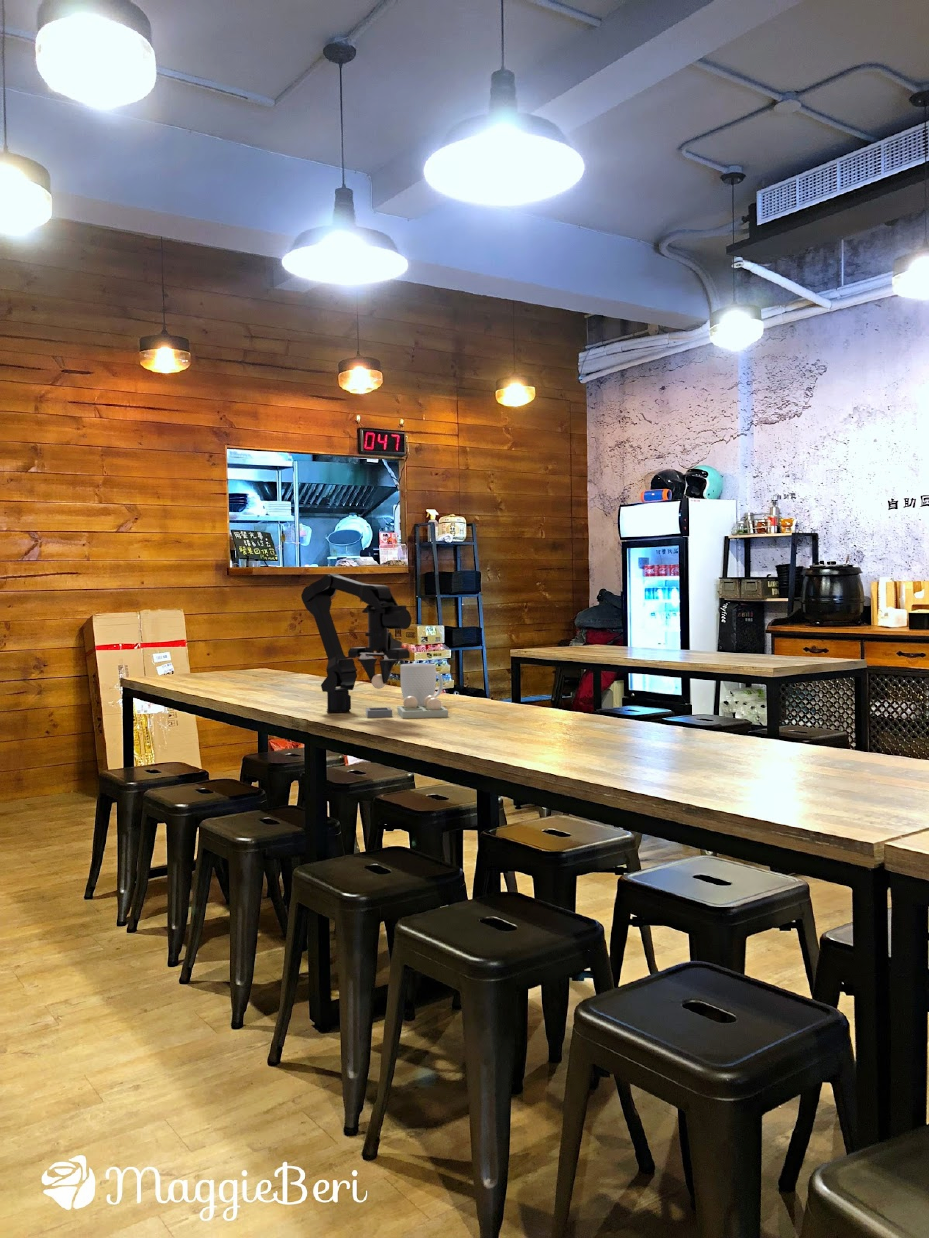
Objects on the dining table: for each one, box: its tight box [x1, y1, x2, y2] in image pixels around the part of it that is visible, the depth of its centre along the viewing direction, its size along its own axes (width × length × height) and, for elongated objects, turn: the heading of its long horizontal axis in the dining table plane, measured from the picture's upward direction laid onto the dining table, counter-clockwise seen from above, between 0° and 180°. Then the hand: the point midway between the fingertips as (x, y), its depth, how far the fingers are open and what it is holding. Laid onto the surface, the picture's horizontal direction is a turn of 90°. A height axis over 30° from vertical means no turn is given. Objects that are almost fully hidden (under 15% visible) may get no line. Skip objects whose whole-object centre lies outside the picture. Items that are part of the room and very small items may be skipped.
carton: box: [396, 695, 449, 719], centre depth 275 cm, size 13×13×5 cm
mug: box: [399, 662, 444, 706], centre depth 295 cm, size 15×11×13 cm
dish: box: [365, 706, 393, 718], centre depth 273 cm, size 7×7×2 cm
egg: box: [371, 673, 386, 690], centre depth 273 cm, size 4×4×4 cm
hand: (378, 683), depth 273 cm, fingers closed on egg, 4 cm apart
